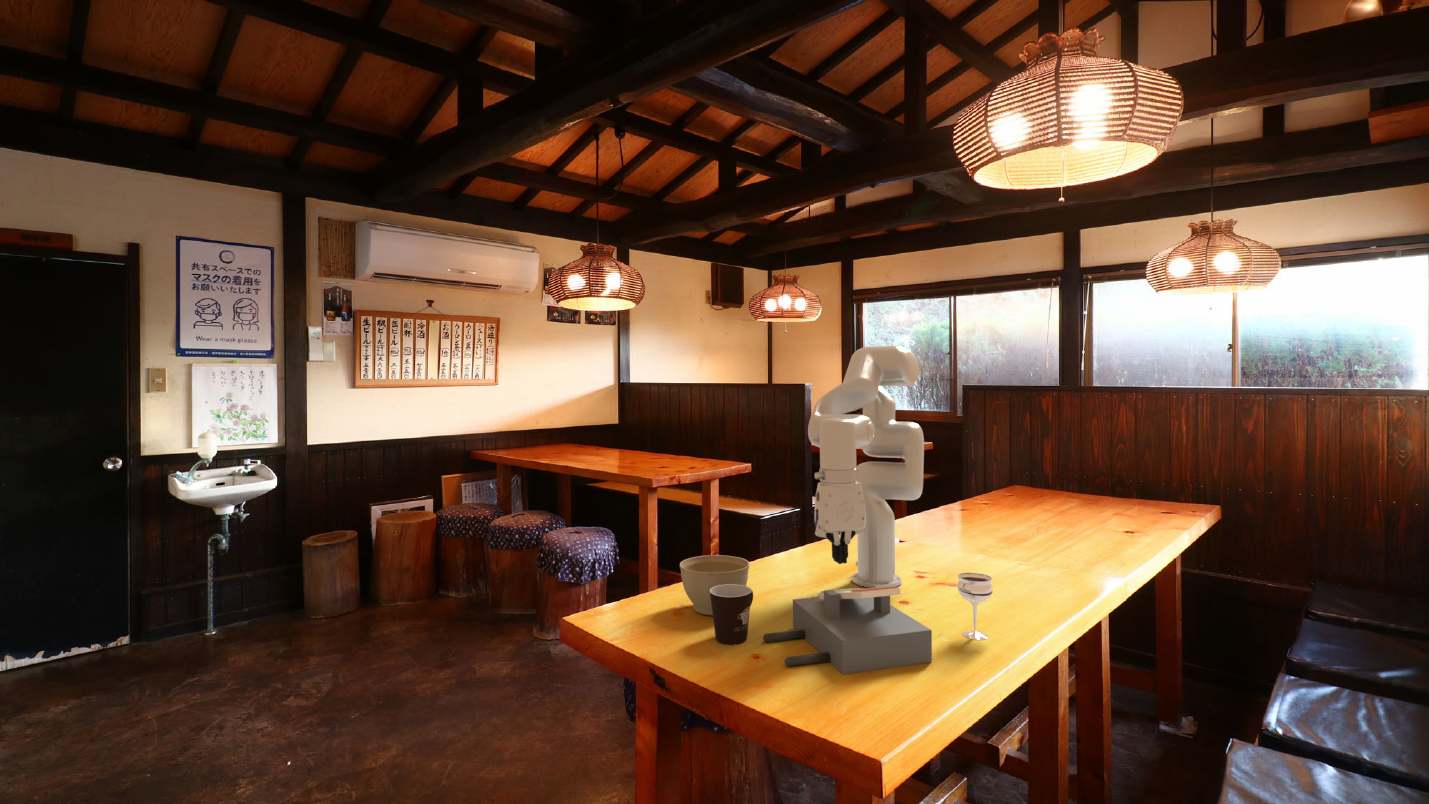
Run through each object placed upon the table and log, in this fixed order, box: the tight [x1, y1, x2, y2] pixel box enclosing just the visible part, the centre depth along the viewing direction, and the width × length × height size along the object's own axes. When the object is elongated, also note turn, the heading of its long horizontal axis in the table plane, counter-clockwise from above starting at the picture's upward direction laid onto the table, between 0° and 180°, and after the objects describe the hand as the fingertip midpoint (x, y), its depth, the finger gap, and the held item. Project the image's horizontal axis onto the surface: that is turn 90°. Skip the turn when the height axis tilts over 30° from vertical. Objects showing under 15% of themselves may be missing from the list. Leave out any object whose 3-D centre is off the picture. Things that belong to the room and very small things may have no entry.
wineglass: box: [956, 572, 993, 641], centre depth 134 cm, size 7×7×12 cm
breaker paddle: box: [818, 586, 902, 600], centre depth 130 cm, size 20×8×2 cm, turn 15°
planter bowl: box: [679, 554, 750, 616], centre depth 152 cm, size 16×16×11 cm
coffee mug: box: [710, 584, 754, 646], centre depth 134 cm, size 12×9×10 cm
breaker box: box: [762, 585, 933, 675], centre depth 129 cm, size 24×27×11 cm
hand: (840, 561), depth 139 cm, fingers closed
